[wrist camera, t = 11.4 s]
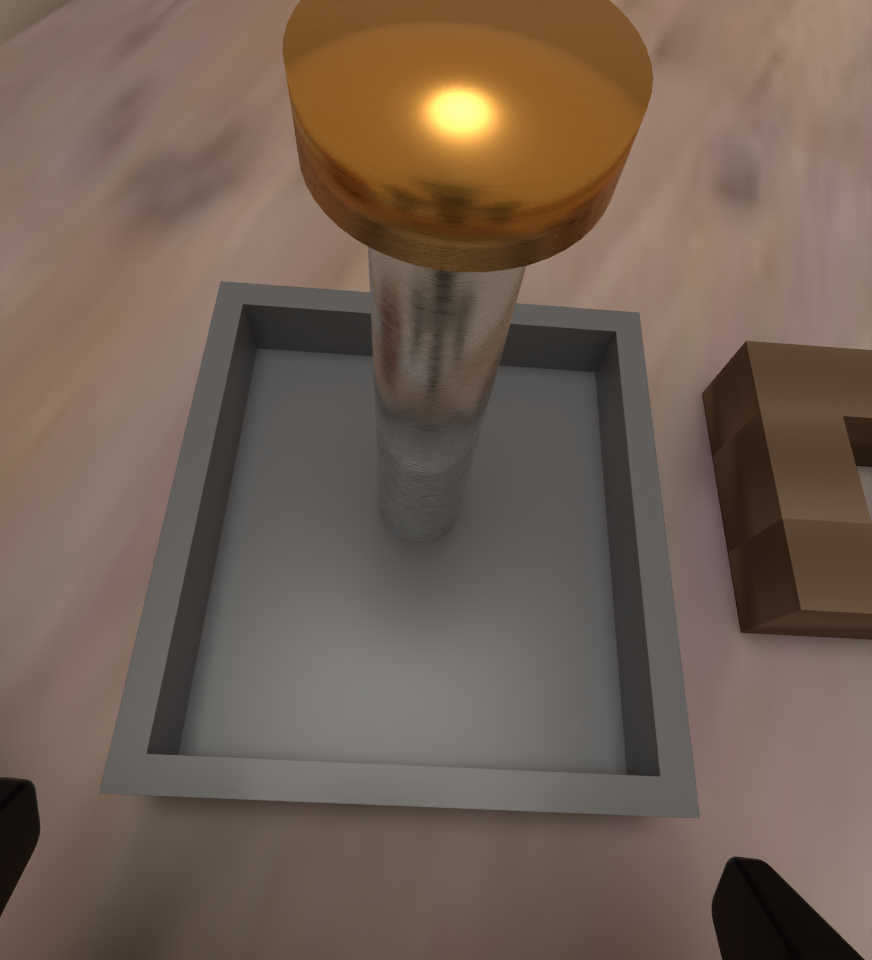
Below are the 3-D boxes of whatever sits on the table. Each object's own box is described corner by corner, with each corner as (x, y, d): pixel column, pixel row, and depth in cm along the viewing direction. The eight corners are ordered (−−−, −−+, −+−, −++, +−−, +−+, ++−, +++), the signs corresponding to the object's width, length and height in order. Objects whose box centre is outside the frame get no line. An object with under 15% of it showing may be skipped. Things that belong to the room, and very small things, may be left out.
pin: (507, 540, 18) (723, 132, 6) (380, 589, 18) (358, 224, 6) (454, 429, 20) (550, -74, 8) (334, 469, 19) (238, -27, 7)
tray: (649, 809, 16) (700, 818, 14) (149, 787, 16) (99, 793, 13) (609, 367, 22) (639, 312, 20) (242, 341, 22) (220, 281, 19)
